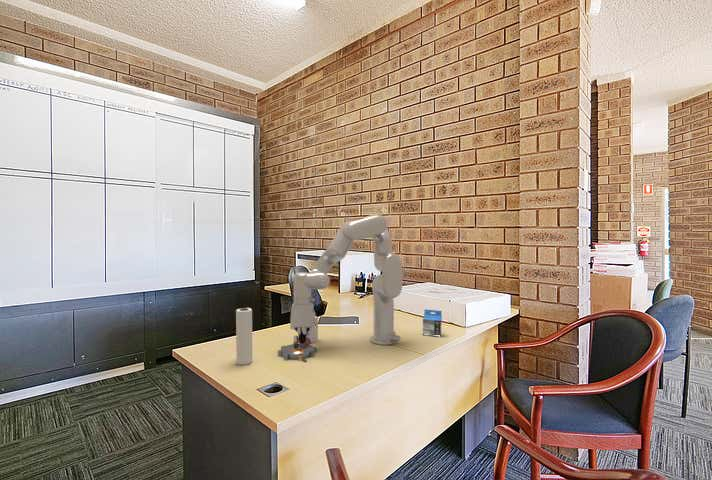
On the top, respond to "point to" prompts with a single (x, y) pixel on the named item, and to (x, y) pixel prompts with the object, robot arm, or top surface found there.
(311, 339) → the ink box
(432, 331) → the label tape cartridge
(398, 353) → the top surface
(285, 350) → the sprocket
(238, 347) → the paper towel roll
